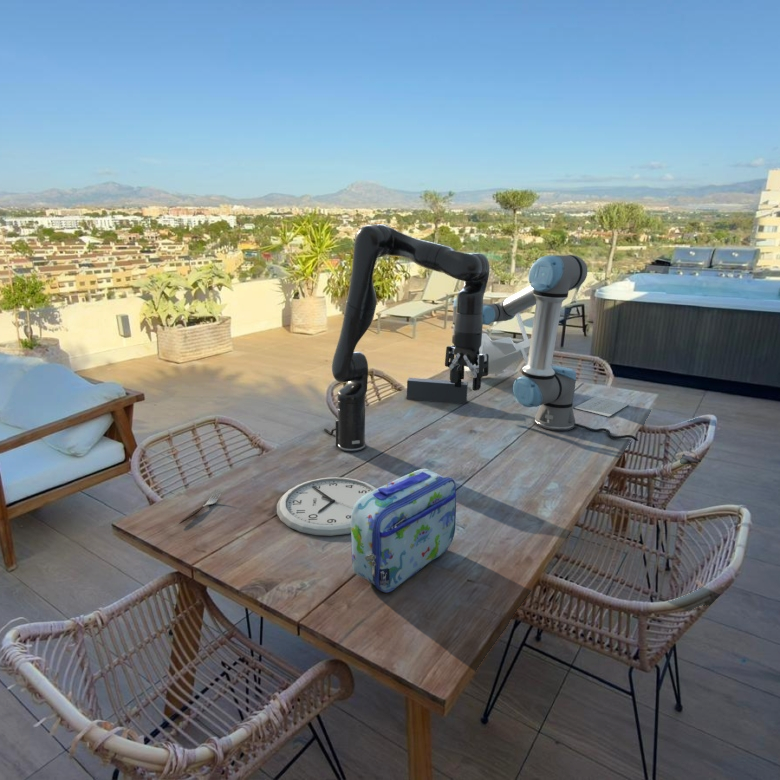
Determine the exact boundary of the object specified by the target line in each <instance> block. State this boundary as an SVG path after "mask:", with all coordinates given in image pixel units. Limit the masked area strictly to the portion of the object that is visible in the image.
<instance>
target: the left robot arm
mask: <svg viewBox="0 0 780 780" xmlns="http://www.w3.org/2000/svg"><path fill="white" fill-rule="evenodd" d="M353 243H354V244H353V255H352V266H351V274H350V280H349V286H348V293H347V297H346V302H345V307H344V313H343V318H342V324H341V329H340V333H339V338H338V340H337V341H338V342H337V344H336V348H335V350H334V353H333V358H332V362H331V373H332V376H333V378H334V380H335V381H336V382H338V383H346V384H345V385H344V386H343V387H342V388H340V389H339V390H338V392H337V419H336V420H335V427H334V428H332V429H331V431H330V430H328V429H327V428H323V431H324V432H326V433H327V434H329V435H333V434H334V432H335V447H337V448H338V449H339V450H341V451H344V452H350V453H351V452H359V451H362V450H364V449H365V448H366V395H367V392H368V382H369V381H368V380H369V363H368V359H367V357H366V355H365V354H364V353H363V352H361V351H355V349H356V348H357V345H358V343H359V342H360V341H361V339H362V338H363V336H365V334H366V333H367V331H368V330H369V328H370V327H371V325H372V323H373V321H374V318H375V312H376V308H377V301H378V298H377V293H376V289H375V285H374V280H373V279H374V272H375V266H376V263H377V259H379V258H384V257H386V256H389V257H400V258H403V259H407V260H409V261H411V262H413V263H414V264H415V265H417V266H420V267H422V268H424V269H427V270H431V271H434V272H438V273H442V274H444V275H447V276H448V277H451V278H453V279H455V280H458V281H462V282H463V287H462V289H461V290H460V291H459V292H458V293H457V297H456V298H457V307H456V317H455V327H454V344H453V345H448V346H446V348H445V357H444V358H445V360H444V366H445V367H447V368H448V370H449V381H450V382H451V383H457V381H458V370H457V369H458V367H459V366H460V365H464V366H466V367H469V370H470V371H472V373H473V376H472V385H471V387H472V388H471V390H472V391H475V392H476V391H479V390H480V389H481V387H482V386H481V385H482V378H484V377H488V375H489V374H488V362H489V356H488V354H480V353H479V348H480V347H481V341H482V333H483V326H484V325H483V316H482V313H483V305H484V298H485V297H484V296H485V293H486V289H487V285H488V282H489V278H490V271H491V269H490V268H491V267H490V261H489V259H488V258H487V256H486V255H485V254H483V253H481V252H471V253H467V252H461V251H458V250H455V249H454V248H453V247H450V246H447V245H443V244H440V243H435V242H432V241H427V240H423V239H419V238H416V237H413V236H410V235H407V234H405V233H402V232H400V231H399V230H396V229H395V228H392V227H390V226H388V225H385V224H381V223H380V224H377V223H376V224H369V225H365V226H362V227H360V228H359V230H358V231H357V233H356V235H355V239H354V242H353ZM478 359H479V360H478ZM474 364H475V365H476V366H473V365H474ZM483 369H484V372H483ZM476 370H477V371H476ZM477 372H478V373H477Z"/></svg>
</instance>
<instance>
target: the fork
mask: <svg viewBox="0 0 780 780" xmlns="http://www.w3.org/2000/svg"><path fill="white" fill-rule="evenodd" d="M222 493H223V491H221V490H219V489H217V490H216V489H215V490H214V492H213V493H212V495H211V496H210V498H209V499H208V500H207V501H206V502H205V504H203V505H202V506H200V507H198V508H196V509H194V510H192V512H191V513H189V514H188V515H187V516H186V517H185V518H183V519H182V520H181V521H180V522H179V523H178V525H180V524H182V523H184V522H186V521H187V520H189V519H191V518H192V517H194V516H195V515H197V514H198V513H199V512H201V511H202V510H203V509H204V508H205V507H206V506H210V505H215V504H216V503H217V502H218V500H219V498H220V497H221V495H222Z"/></svg>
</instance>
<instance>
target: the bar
mask: <svg viewBox="0 0 780 780" xmlns="http://www.w3.org/2000/svg"><path fill="white" fill-rule="evenodd" d="M468 386H469V382H468V381H461V387H455V383H451V382H450V380H444V379H430V378H419V377H418V378H417V377H408V379H407V381H406V400H414V401H415V400H416V401H426V402H427V401H428V402H440V403H451V404H463V405H466V404H467V401H468V390H469V389H468V388H469V387H468Z"/></svg>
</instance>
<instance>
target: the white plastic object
mask: <svg viewBox="0 0 780 780" xmlns="http://www.w3.org/2000/svg"><path fill="white" fill-rule="evenodd" d="M515 317H516V321H517V323H518V326H519V329H520V332H521V335H522V338H523V340H522V341H520V342H517V343H516V342H514V340H513V339H512V337H511V336H508V337H503V338H498V339H493V340H492V339H491V337H490V336H489V335H488V334H487V333H486V332H482V341H481V347H480V348H479V353H480V354H488V356H489V362H488V375H495V376H497V375H500V374H503V373H505V370H506V369H508V368H509V367H510V366H512V365H513V364H515V363H517V361H518V360H520V359H522V358H523V359H524V360H523V361H524V364H525V365H527V362H528V355H529V349H530V342H531V337H528V334H527V331H526V328H525V325H524V322H523V319H522V316H521V312H520V313H518V314H516V315H515ZM478 360H479V359H478ZM473 366H476V365H475V364H474V365H473ZM476 371H477V370H476ZM483 372H484V369H483ZM464 373H465V374H466V375H467V376H468V377H474V376H473V373H472V371H470V370H469V367H466V366H464ZM477 373H478V372H477Z"/></svg>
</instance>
